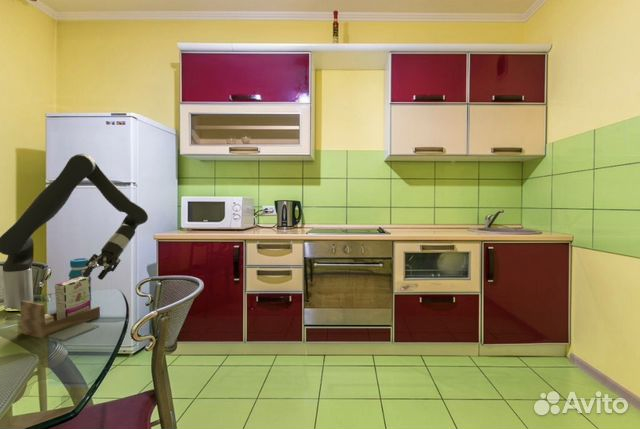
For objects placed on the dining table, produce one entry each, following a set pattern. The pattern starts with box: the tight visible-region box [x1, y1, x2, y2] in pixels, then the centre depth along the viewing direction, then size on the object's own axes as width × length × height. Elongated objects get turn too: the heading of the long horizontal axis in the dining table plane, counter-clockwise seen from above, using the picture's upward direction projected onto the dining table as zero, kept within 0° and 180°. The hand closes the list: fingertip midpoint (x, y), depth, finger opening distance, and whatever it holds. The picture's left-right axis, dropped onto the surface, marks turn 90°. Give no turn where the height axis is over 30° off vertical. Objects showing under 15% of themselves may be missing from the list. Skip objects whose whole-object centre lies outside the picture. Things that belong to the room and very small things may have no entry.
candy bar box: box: [54, 277, 92, 321], centre depth 135 cm, size 11×5×16 cm, turn 168°
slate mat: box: [47, 322, 100, 342], centre depth 126 cm, size 8×13×1 cm, turn 161°
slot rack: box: [20, 300, 101, 340], centre depth 132 cm, size 11×22×12 cm, turn 161°
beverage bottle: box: [68, 257, 92, 303], centre depth 155 cm, size 8×8×20 cm
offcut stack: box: [45, 313, 55, 325], centre depth 125 cm, size 6×5×5 cm
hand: (92, 277), depth 142 cm, fingers open, 8 cm apart
